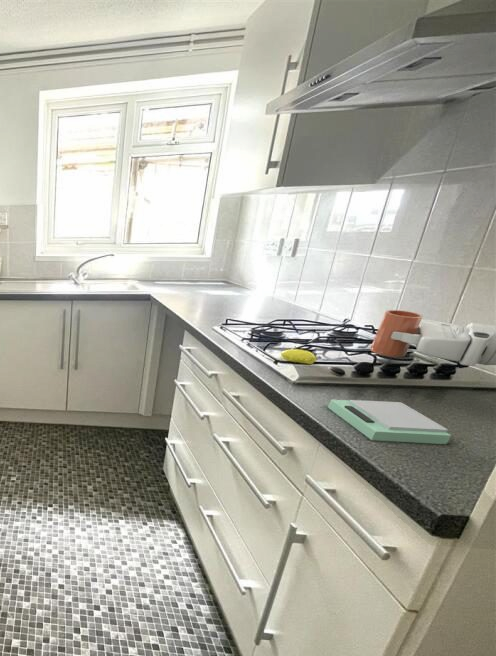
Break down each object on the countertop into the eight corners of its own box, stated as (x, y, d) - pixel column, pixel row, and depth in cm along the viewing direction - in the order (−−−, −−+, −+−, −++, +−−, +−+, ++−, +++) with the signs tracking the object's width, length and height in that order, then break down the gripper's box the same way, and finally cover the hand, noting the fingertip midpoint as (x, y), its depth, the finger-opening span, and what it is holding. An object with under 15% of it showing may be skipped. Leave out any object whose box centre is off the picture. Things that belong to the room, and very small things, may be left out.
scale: (391, 412, 89) (397, 399, 88) (445, 446, 78) (453, 432, 76) (326, 409, 90) (331, 396, 89) (370, 442, 79) (377, 428, 78)
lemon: (314, 368, 111) (319, 354, 109) (278, 362, 115) (283, 348, 113) (313, 363, 114) (318, 349, 112) (278, 357, 118) (282, 344, 116)
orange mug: (391, 348, 107) (408, 310, 103) (412, 357, 101) (430, 317, 97) (363, 347, 108) (379, 309, 104) (382, 356, 102) (400, 317, 98)
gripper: (473, 319, 100) (396, 309, 108) (487, 341, 86) (397, 327, 95) (460, 343, 103) (386, 332, 111) (472, 368, 89) (386, 353, 97)
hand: (391, 330), depth 103 cm, fingers closed on orange mug, 7 cm apart
